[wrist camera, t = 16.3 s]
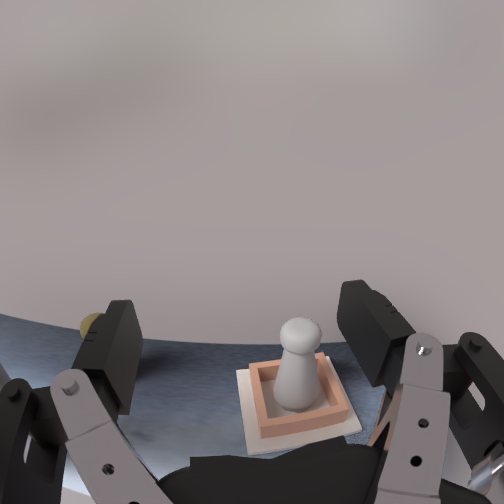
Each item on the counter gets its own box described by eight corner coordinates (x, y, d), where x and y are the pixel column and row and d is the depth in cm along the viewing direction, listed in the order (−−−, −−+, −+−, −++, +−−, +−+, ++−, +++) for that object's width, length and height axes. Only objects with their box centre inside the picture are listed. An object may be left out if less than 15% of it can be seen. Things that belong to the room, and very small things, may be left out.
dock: (247, 455, 27) (245, 442, 25) (236, 373, 39) (234, 356, 38) (361, 431, 28) (368, 416, 27) (327, 359, 41) (330, 341, 39)
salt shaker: (317, 385, 36) (328, 309, 30) (317, 418, 30) (332, 344, 25) (274, 383, 36) (275, 308, 31) (270, 417, 31) (270, 343, 26)
